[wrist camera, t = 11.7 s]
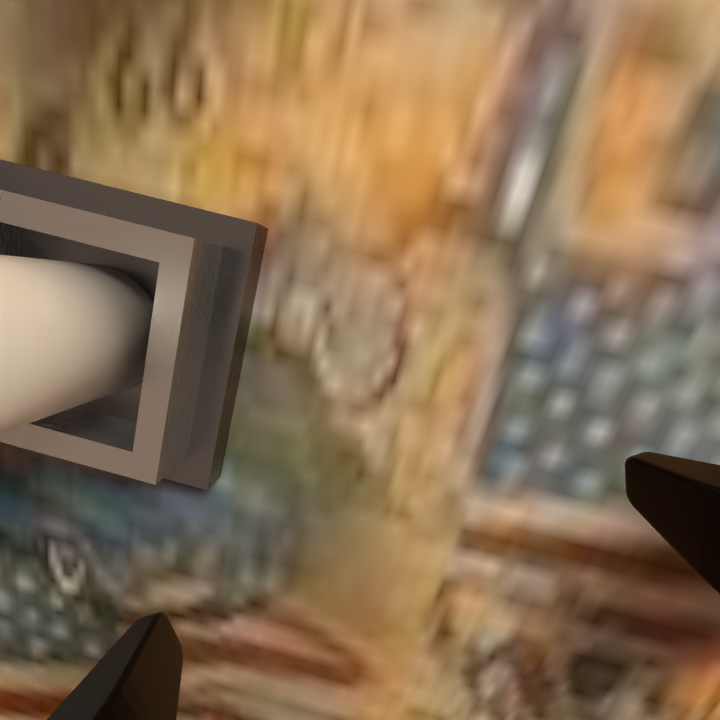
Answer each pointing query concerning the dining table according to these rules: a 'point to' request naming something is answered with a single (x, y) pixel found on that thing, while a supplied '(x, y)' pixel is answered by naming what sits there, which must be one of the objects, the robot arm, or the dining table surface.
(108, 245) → the grey square tray
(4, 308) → the white bottle
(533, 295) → the dining table surface
